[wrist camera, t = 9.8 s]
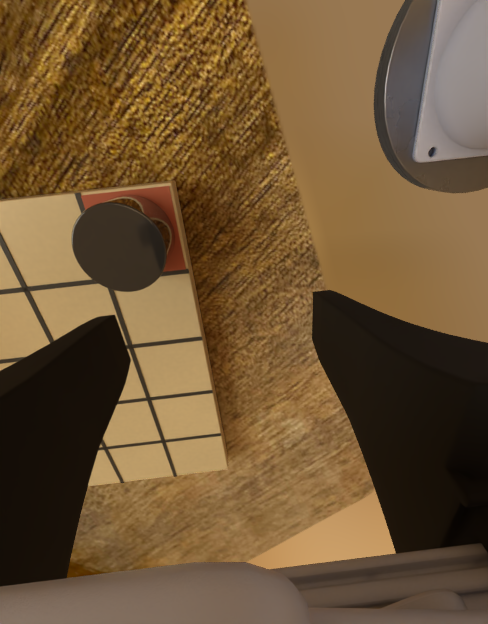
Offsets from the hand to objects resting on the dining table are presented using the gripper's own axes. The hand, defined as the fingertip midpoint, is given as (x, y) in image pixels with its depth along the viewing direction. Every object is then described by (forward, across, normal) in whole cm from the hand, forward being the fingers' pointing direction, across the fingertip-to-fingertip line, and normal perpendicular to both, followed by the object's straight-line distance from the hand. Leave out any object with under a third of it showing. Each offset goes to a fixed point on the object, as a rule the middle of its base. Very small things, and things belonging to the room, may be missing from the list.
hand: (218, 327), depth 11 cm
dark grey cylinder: (+8, +4, -2) cm, 9 cm away
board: (+9, +12, +8) cm, 17 cm away
